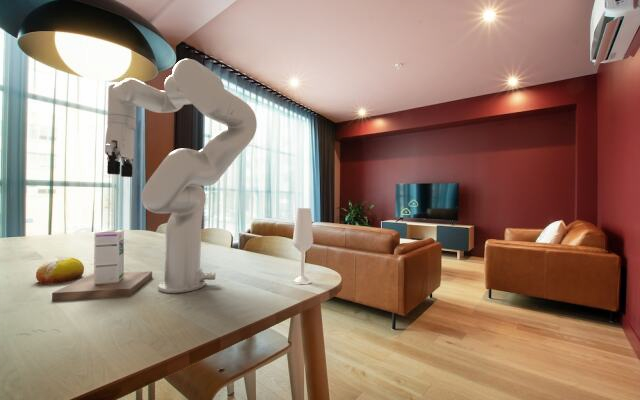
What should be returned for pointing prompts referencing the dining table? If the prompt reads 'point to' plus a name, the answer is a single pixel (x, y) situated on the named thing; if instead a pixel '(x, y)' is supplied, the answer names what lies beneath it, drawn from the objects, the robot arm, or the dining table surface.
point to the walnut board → (102, 287)
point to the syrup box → (109, 256)
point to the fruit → (60, 271)
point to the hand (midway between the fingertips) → (120, 175)
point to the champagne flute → (303, 236)
